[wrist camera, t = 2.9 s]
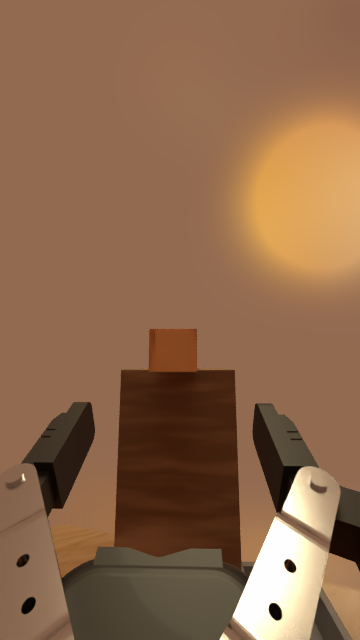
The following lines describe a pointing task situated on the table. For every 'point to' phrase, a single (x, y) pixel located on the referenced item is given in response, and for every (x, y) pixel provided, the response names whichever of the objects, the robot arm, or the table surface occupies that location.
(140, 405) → the walnut stand
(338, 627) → the charcoal crate
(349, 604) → the table surface
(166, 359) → the narrow crate
